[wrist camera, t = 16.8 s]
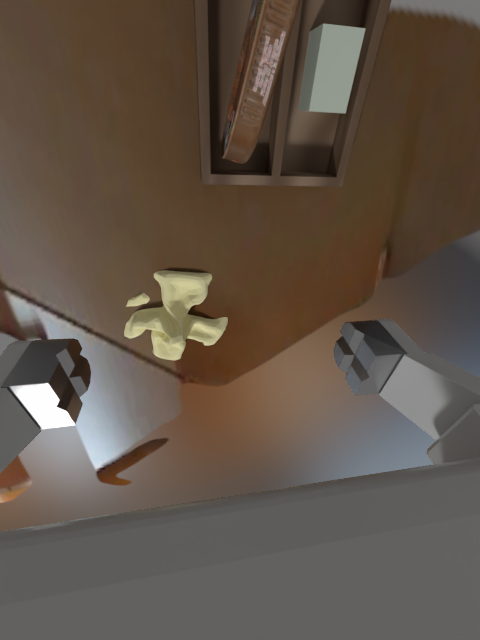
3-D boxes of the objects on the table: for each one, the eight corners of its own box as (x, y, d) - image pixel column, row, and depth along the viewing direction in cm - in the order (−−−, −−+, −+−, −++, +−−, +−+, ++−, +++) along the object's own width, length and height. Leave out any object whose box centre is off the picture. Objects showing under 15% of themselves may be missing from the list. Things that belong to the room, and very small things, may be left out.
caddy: (200, 176, 33) (202, 184, 30) (189, -112, 20) (189, -151, 17) (328, 179, 35) (341, 186, 32) (387, -76, 23) (418, -104, 20)
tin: (265, -59, 21) (282, -123, 15) (300, -40, 22) (330, -92, 16) (218, 149, 31) (216, 164, 24) (244, 158, 31) (248, 176, 25)
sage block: (297, 110, 29) (308, 111, 27) (309, 32, 26) (323, 23, 23) (331, 112, 30) (345, 113, 27) (347, 36, 26) (365, 28, 24)
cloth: (194, 246, 39) (194, 266, 34) (246, 327, 51) (252, 349, 46) (76, 311, 43) (62, 337, 38) (150, 372, 54) (146, 397, 50)
